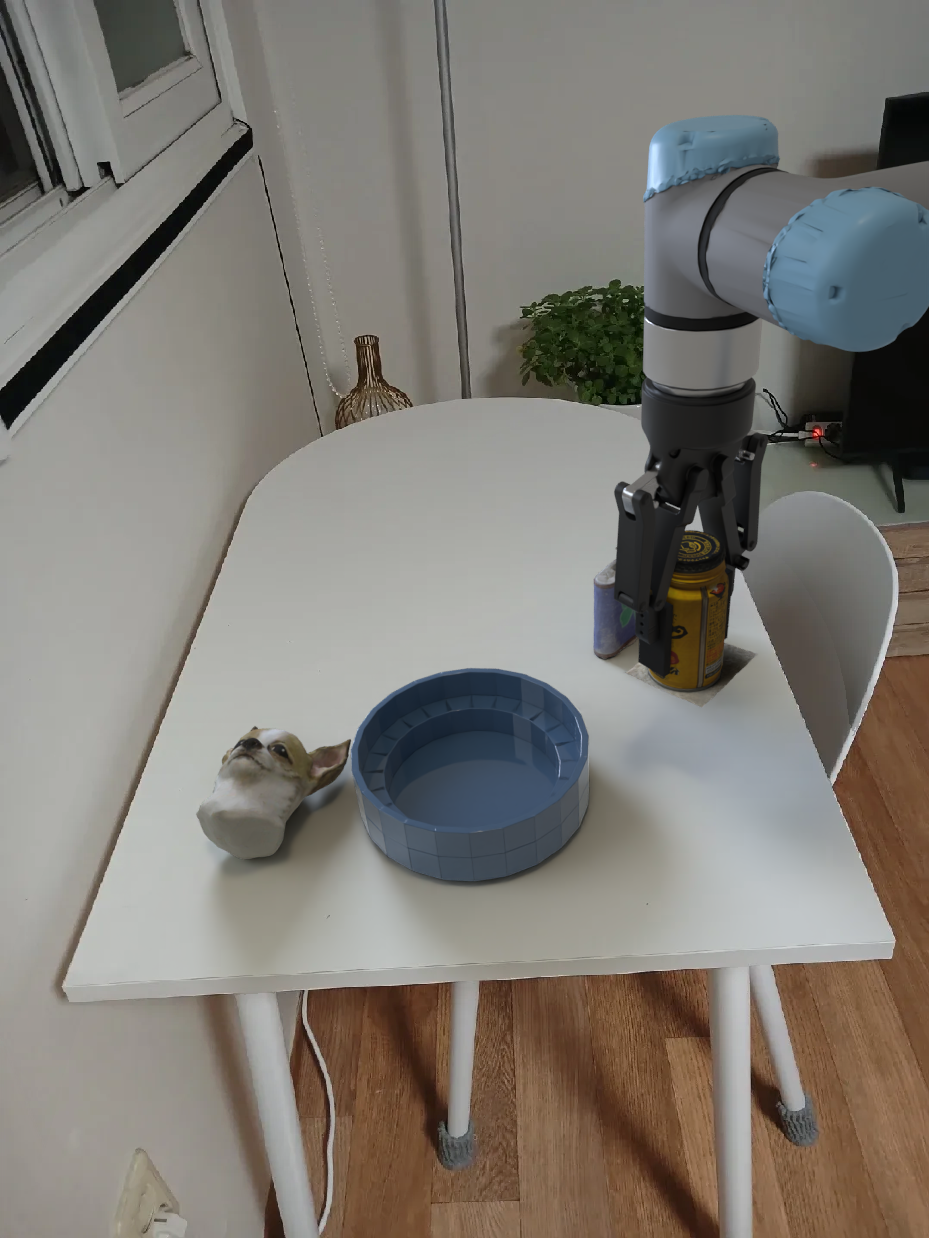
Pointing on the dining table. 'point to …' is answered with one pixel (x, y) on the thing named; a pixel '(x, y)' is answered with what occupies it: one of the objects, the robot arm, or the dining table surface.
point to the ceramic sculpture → (265, 789)
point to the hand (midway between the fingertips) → (683, 649)
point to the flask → (611, 617)
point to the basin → (472, 773)
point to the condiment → (698, 625)
